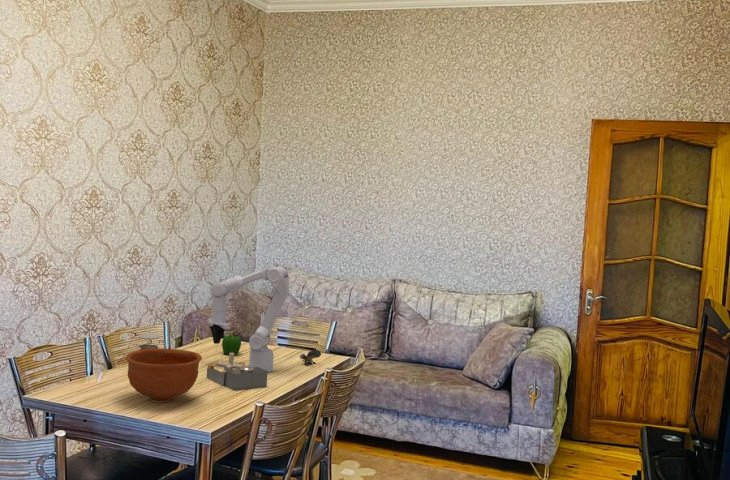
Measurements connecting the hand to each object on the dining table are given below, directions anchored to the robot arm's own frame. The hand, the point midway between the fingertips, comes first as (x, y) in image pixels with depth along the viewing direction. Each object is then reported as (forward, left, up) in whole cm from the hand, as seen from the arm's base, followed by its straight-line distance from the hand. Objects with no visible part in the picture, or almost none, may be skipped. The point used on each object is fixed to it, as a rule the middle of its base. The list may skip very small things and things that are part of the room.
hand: (216, 343), depth 296 cm
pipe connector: (+5, +21, -10) cm, 24 cm away
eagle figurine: (-40, +12, -10) cm, 43 cm away
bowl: (+40, +37, -10) cm, 55 cm away
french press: (+28, -1, -10) cm, 30 cm away
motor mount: (+5, +27, -9) cm, 29 cm away
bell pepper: (-17, -17, -10) cm, 26 cm away
